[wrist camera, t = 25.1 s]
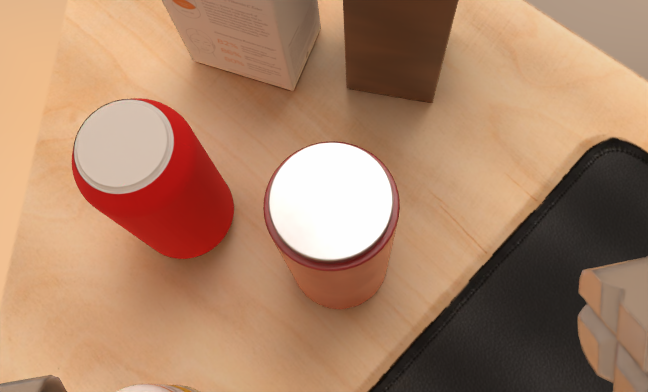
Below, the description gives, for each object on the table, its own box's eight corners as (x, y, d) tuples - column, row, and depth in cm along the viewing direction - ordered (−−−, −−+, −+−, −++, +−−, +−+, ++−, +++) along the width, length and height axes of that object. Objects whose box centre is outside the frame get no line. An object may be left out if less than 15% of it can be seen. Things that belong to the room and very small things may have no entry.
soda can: (282, 297, 37) (245, 252, 25) (304, 207, 39) (279, 124, 27) (377, 318, 36) (386, 281, 24) (395, 225, 38) (411, 148, 26)
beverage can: (216, 157, 40) (160, 64, 29) (251, 237, 38) (206, 172, 27) (132, 195, 40) (41, 115, 28) (163, 278, 38) (79, 229, 26)
